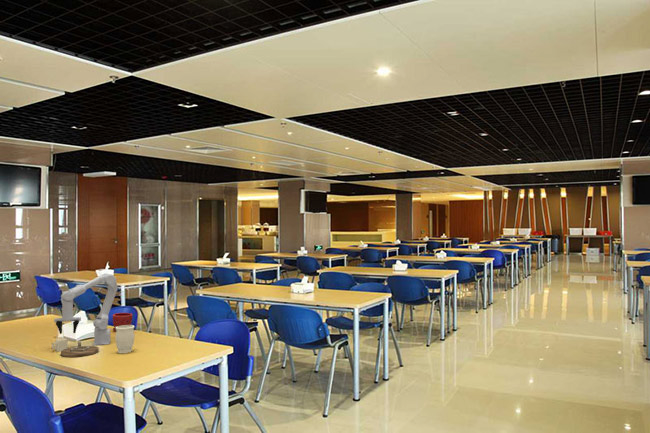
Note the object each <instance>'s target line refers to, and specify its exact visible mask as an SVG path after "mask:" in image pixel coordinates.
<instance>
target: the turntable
mask: <svg viewBox="0 0 650 433" xmlns="http://www.w3.org/2000/svg"><path fill="white" fill-rule="evenodd" d="M99 351H100V347H98V346H97V345H82V342H81V341H77V346H73V347H68V348H67V349H64V350H62V351H60V356H62V357H65V358H78V357H87V356H90V355H91V356H92V355H94V354H97V353H99Z"/></svg>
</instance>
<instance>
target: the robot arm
mask: <svg viewBox="0 0 650 433" xmlns="http://www.w3.org/2000/svg"><path fill="white" fill-rule="evenodd" d="M117 280H118V279H117V278H116V276H115V275H113V274H108V273H103V274H101V275H99V276H97V277H95V278H93V279H92V280H90V281H88V282H86V283H85V284H76V285H75V286H74V287H72V288H69V289H68V290H65V291H63V292H62V293H61V295H60V298H61V299H62V304H61V305H62V307H61V308H62V310H61V311H62V312H61V314H62V317H59V318H58V317H57V318H54V319H53V323H55V325H56V327H57V329H58V333H59V335H62V334H63V323H64V322H72V325H73V326H72V327H73V331H72V332H73V334H76V332H77V328H78V325H79V323H80V322H81V321H82V317H74V309H73V308H74V302H73V301H74V299H75V298H77V297H79V296H80V295H82V294H85V293H86V291H87V290H88V289H90V288H93V287H94V286H96V285H99V284H100V285H101V284H102V285H105V287H106V288H107V292H106V295H105V298H104V300H103V303H102V305H101V308H100V312H99V313H98V314H97V316H96V318H95V319H94V320H93V323H92V324H93V326H94V329H93V331H94V332H93V334H94V336H93V337H94V338H93V339H94V340H93V343H92V346H99V345H110V343H111V339H112V338H111V337H112V336H111V329H110V328H108V326H109V314H110V311H111V309H112V305H113V303H114V300H115V297H116V294H117V292H118V289H119V288H118V284H117V283H118V282H117Z"/></svg>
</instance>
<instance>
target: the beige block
mask: <svg viewBox="0 0 650 433" xmlns="http://www.w3.org/2000/svg"><path fill="white" fill-rule="evenodd" d="M68 342H69V341H68V338H65V337H63V338H57V339H55V342H51V350H54V351H55V352H59V353H61V351H62V350H64V349H67V348H69V347H68V345H69V344H68Z"/></svg>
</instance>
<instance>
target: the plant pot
mask: <svg viewBox="0 0 650 433" xmlns="http://www.w3.org/2000/svg"><path fill="white" fill-rule="evenodd" d="M132 322H133V313H131V312H130V313H129V312H117V313H114V314H112V325H113V326H114V327H113V328H112V330H113V331H114V332H116V327H117V326H122V325H132Z"/></svg>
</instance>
